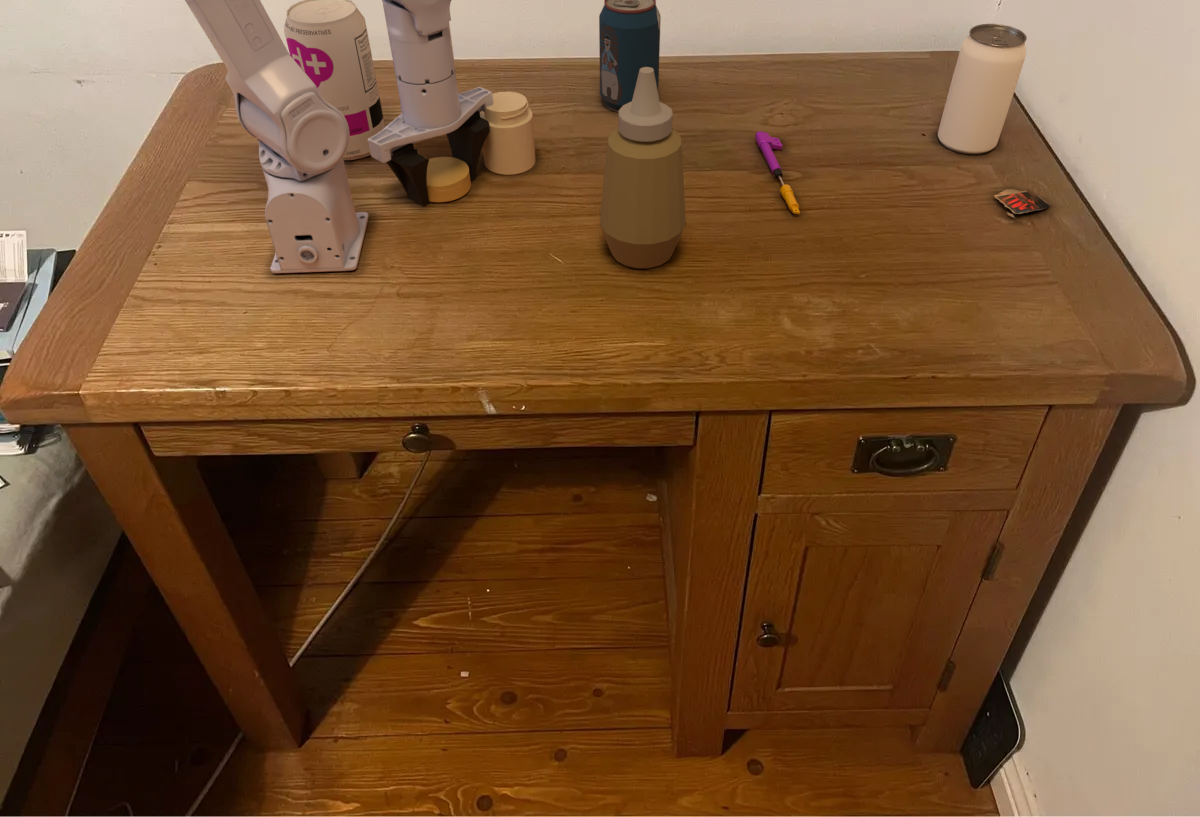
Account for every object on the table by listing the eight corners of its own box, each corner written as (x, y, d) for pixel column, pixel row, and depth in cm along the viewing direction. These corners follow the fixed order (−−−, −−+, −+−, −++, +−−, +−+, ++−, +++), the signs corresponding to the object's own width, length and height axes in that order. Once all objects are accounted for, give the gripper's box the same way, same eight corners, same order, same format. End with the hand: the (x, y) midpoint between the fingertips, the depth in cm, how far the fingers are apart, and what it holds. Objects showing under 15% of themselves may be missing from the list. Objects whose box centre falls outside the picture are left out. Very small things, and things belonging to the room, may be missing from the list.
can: (990, 128, 104) (1023, 22, 96) (1002, 157, 100) (1038, 48, 91) (932, 126, 105) (960, 20, 96) (941, 154, 100) (971, 46, 92)
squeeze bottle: (677, 282, 84) (689, 96, 72) (592, 272, 85) (588, 88, 73) (689, 233, 90) (701, 53, 77) (608, 224, 91) (607, 46, 78)
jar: (535, 174, 98) (531, 113, 93) (483, 176, 98) (476, 114, 93) (535, 148, 102) (531, 88, 97) (485, 150, 102) (478, 90, 97)
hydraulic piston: (752, 138, 103) (789, 217, 92) (756, 128, 102) (793, 207, 91) (774, 141, 103) (813, 220, 92) (778, 132, 103) (818, 210, 91)
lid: (417, 173, 98) (414, 157, 97) (472, 171, 98) (470, 155, 97) (411, 203, 94) (408, 187, 93) (469, 201, 94) (467, 185, 93)
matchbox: (1053, 206, 92) (1055, 202, 92) (1019, 222, 90) (1021, 218, 90) (1015, 186, 95) (1016, 182, 95) (982, 201, 93) (983, 197, 93)
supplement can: (348, 170, 99) (317, 32, 89) (299, 148, 103) (263, 12, 92) (403, 141, 104) (379, 6, 93) (353, 120, 107) (325, -12, 97)
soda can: (662, 92, 112) (666, -9, 103) (651, 119, 107) (654, 15, 98) (607, 87, 113) (607, -14, 104) (593, 112, 108) (592, 9, 100)
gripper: (454, 36, 93) (470, 156, 103) (338, 85, 86) (366, 210, 95) (502, 55, 90) (513, 178, 99) (385, 108, 82) (409, 235, 92)
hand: (444, 195), depth 97 cm, fingers closed on lid, 6 cm apart
